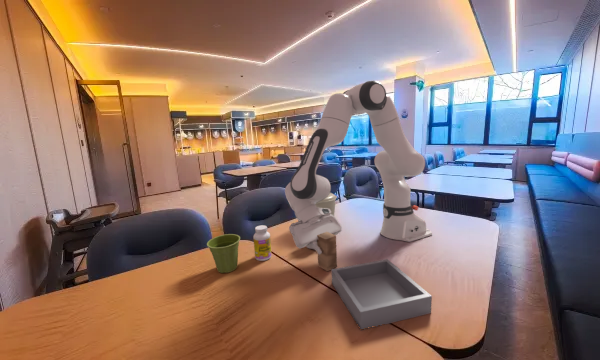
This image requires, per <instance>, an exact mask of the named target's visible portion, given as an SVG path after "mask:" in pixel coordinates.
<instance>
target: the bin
mask: <svg viewBox="0 0 600 360" xmlns="http://www.w3.org/2000/svg"><path fill="white" fill-rule="evenodd" d="M330 271H331V284H332V286H333V287H334V289H335V291H336V292H337V294H338V295H339V297H340V299H341V301H342V302H343V303H344V305H345V307H346V309H347V310H348V312H349V313H350V315H351V317H352V318H353V320H354V322H355V321H356V322H355V324H356V325H357V324H358V325H357V326H359V327H360V328H359V327H358V328H359V330H360V329H364V328H368V327H372V326H376V327H379V326H378V325H380V326H383V325H382V324H385V325H388V324H392V323H396V322H400V321H404V320H408V319H409V320H410V319H413V318H417V317H420V316H421V317H422V316H425V315H428V314H431V313H432V305H433V304H432V299H433V296H432V295H431V294H430V293H429V292H427V291H426V290H425V289H424V288H423V287H422V286H420V284H418V282H416V281H414V279H412V278H411V277H410V276H409V275H408V274H406V273H405V272H404V271H402V270H401V269H400V268H399V267H398V266H397V265H395V264H394V263H393V262H391V260H389V259H388V258H386V259H381V260H374V261H370V262H365V263H359V264H358V263H357V264H353V265H349V266H342V267H338V268H337V267H335V268H333V269H331V270H330ZM372 328H373V327H372ZM368 329H369V328H368ZM364 330H365V329H364Z"/></svg>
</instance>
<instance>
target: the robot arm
mask: <svg viewBox="0 0 600 360" xmlns="http://www.w3.org/2000/svg"><path fill="white" fill-rule="evenodd" d="M363 114H367V115H368V117H369V121H370V124H371V127H372V130H373V134H374V136H375V140H376V142H377V144H378V145H379V146H381V148H382V149H383V150H381V151H379V152H378V153H376V155H375V157H374V166H375V168H377V170H378V172H379V175H380V178H381V181H382V185H383V199H384V200H383V201H384V203H383V204H382V212H383V221H382V225H381V229H380V234H381V236H383V237H385V238H387V239H391V240H397V241H404V242H408V243H409V242H414V241H417V240H420V239H423V238H427V237H430V236H433V232H432V230H430V229H429V228H427V224H426V221H425V220H424V218H422V217H421V216H419V215H418V214H416V213H415V212H414V211H418V210H419V206H417V205H413V204H411V193H412V192H411V187H410V185H409V184H408V183H407V182H406V178H410V177H416V176H419V175H420V174H422V173H423V171H424V170H425V166H426V161H425V160H426V159H425V158H424V156H423V155H422V154H421V153H419V152H418V151H417V150H416V149H415V148H414V147H413V145H412V144H411V142H410V141H409V140H408V138H407V136H406V135H405V132H404V130H403V127H402V124H401V123H402V122H401V120H400V117H399V113H398V111H397V108H396V105H395V103H394V102H393V100H392V98H391V96H390V95H389V94H387V90H386V88H385V86H384V85H383V83H381V82H380V81H378V80H368V81H366V82H362V83H359V84H357V85H354V86H353V87H352V88H350V89H347V90H345V91H344V92H343V93H341V92H340V93H333V94H332V95H331V96H330V97H329V98H328V100H327V103H326V105H325V106H324V109H323V112H322V115H321V117H320V121H319V124H318V127H317V128H316V130H315V131H314V132H313V133H312V135H311V137H310V138H309V140H308V143H307V145H306V148H305V151H304V153H303V156H302V157H301V161H300V164H299V165H298V166H297V169H296V170H295V172H294V173H293V175H292V176H291V179H290V182H289V183H288V184H287V185H286V186H285V187H284V188H285V189H284V194H285V197H286V200H287V201H288V204H289V206H290V208H291V209H292V211H294V215H295V217H296V219H297V221H296V222H293V223H292V222H291V223H290V225H289V226H288V230H289V232H290V234H291V236H292V239H293V241H294V242H293V243H294V244H295V246H296V248H298V249H302V248H303V249H304V248H305V247H306V246H308V245H311V247H312V248H313V249H312V250H314V251H316V253H317V255H318V254H319V255H320V254H322V253H323V252H324V250H323V249H322V247H321V248H320V247H318V246H317V245H316V244H317V243H316V242H317V240H318V236H317V235H319V234H322V233H325V232H329V233H331V234H334V235H336V236H337V235H338V234H340V233H341V232H342V225H341V223H340V222H339V220H338V219H337V217H336V216H335V214H334V215H332V214H331V210H330V209H328V208H318V207H316V205H315V204H316V203H317V202H320V201H321V200H323V199H325V198H326V197H328V195H329V194H330V193H331V191H332V186H331V185H332V184H331V182H330V180H329V179H328V178H327V177H324V176H323V175H320V174H317V169H318V168H319V164H320V161H321V159H322V157H323V154H324V152H325V150H327V148H329V147H334V146H337V145H339V144H341V143H342V142H343V141H344V140H345V138H346V136H347V133H348V130H349V126H350V123H351V119H352V116H356V115H357V116H359V115H363ZM336 248H337V244H336Z"/></svg>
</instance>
